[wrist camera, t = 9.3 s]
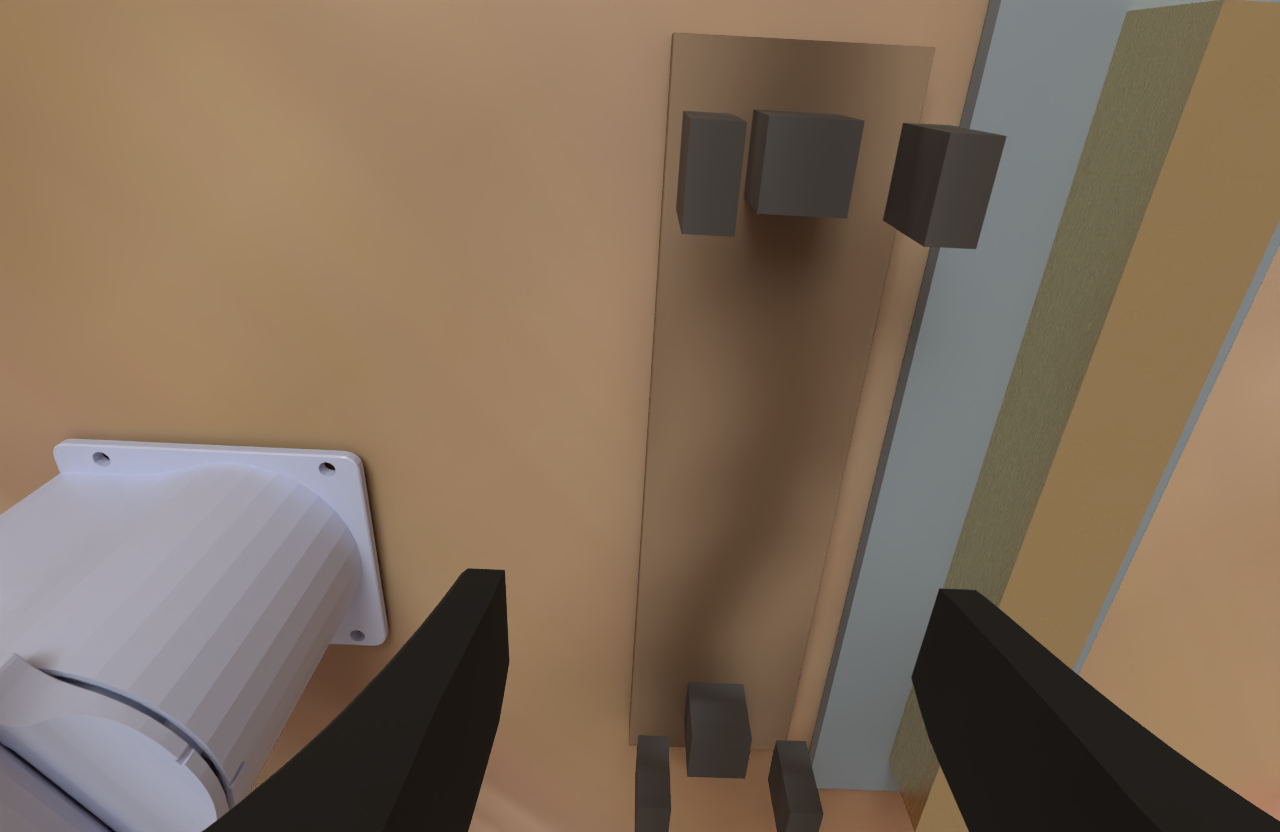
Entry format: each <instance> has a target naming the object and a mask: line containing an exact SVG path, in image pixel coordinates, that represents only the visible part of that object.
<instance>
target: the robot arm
mask: <svg viewBox="0 0 1280 832" xmlns="http://www.w3.org/2000/svg"><path fill="white" fill-rule="evenodd" d="M102 453H104V454H105V455H107V456H108V457H109V459H110V460H109V459H107V458H106V457H104V456H103V454H102ZM53 454H54V458H55V461H56V463H57V466H58V468H59V471H60V474H59V475H57V476H56V477H54V478H53V479H51V480H50V481H48V482H47V483H46V484H44V485H43V486H41V487H40V488H38V489H37V490H36V491H34V492H33V493H31V494H30V495H28V496H27V497H26V498H24V499H23V500H21V501H20V502H18V503H17V504H15V505H14V506H13V507H11V508H10V509H8V510H7V511H5V512H4V513H3V514H1V515H0V832H468V830H469V826H470V823H471V819H472V816H473V812H474V809H475V805H476V802H477V798H478V795H479V791H480V788H481V784H482V781H483V777H484V774H485V770H486V767H487V763H488V760H489V756H490V753H491V749H492V745H493V742H494V738H495V735H496V731H497V727H498V724H499V719H500V714H501V708H502V702H503V697H504V691H505V685H506V678H507V672H508V666H509V646H508V626H507V605H506V585H505V570H490V569H467V570H465V571H464V572H463V573H462V574H461V575H460V576H459V578H458V579H457V580H456V582H455V583H454V584H453V586H452V587H451V588H450V590H449V591H448V592H447V594H446V595H445V596H444V597H443V599H442V600H441V601H440V603H439V604H438V605H437V606H436V608H435V609H434V610H433V611H432V613H431V614H430V615H429V616H428V618H427V619H426V620H425V621H424V622H423V624H422V625H421V626H420V627H419V629H418V630H417V631H416V632H415V633H414V634H413V636H412V637H411V638H410V639H409V640H408V641H407V642H406V644H405V645H404V646H403V647H402V648H401V649H400V651H399V652H398V653H397V654H396V655H395V656H394V657H393V659H392V660H391V661H390V662H389V663H388V664H387V665H386V666H385V668H384V669H383V670H382V671H381V672H380V673H379V674H378V675H377V676H376V677H375V678H374V679H373V680H372V681H371V682H370V683H369V684H368V685H367V687H366V688H365V689H364V690H363V691H362V692H361V693H360V694H359V695H358V696H357V697H356V698H355V699H354V700H353V701H352V702H351V703H350V704H349V705H348V706H347V707H346V708H345V709H344V710H343V711H342V712H341V713H340V714H339V715H338V716H337V717H336V718H335V719H334V720H333V721H332V722H331V723H330V724H329V725H328V726H327V727H326V728H325V729H324V730H323V731H322V732H321V733H319V734H318V735H317V736H316V737H315V738H314V739H313V740H312V741H311V742H310V743H309V744H307V745H306V746H305V747H304V748H303V749H302V750H301V751H300V752H299V753H297V754H296V755H295V756H294V757H293V758H292V759H291V760H290V761H289V762H287V763H286V764H285V765H284V766H283V767H282V768H280V769H279V770H278V771H277V772H276V773H274V774H273V775H272V776H271V777H270V778H268V779H267V780H266V781H265V782H264V783H262V784H261V785H260V786H259V787H258V788H256V789H255V790H254V791H253V792H251V793H250V794H249V795H248V793H249V791H250V789H251V788H252V786H253V784H254V782H255V780H256V778H257V776H258V775H259V773H260V771H261V769H262V767H263V765H264V764H265V762H266V760H267V758H268V756H269V754H270V753H271V751H272V749H273V747H274V745H275V743H276V742H277V740H278V738H279V736H280V734H281V732H282V731H283V729H284V727H285V725H286V723H287V721H288V720H289V718H290V716H291V714H292V712H293V710H294V708H295V707H296V705H297V703H298V701H299V699H300V697H301V696H302V694H303V692H304V690H305V688H306V686H307V685H308V683H309V681H310V679H311V677H312V675H313V674H314V672H315V670H316V668H317V666H318V664H319V663H320V661H321V659H322V657H323V655H324V653H325V651H326V650H327V648H328V646H329V644H344V645H369V646H375V645H380V644H382V643H383V642H384V641H385V639H386V637H387V635H388V624H387V617H386V611H385V604H384V598H383V591H382V585H381V578H380V572H379V565H378V559H377V552H376V546H375V539H374V532H373V526H372V519H371V513H370V506H369V500H368V493H367V487H366V480H365V474H364V467H363V463H362V461H361V459H360V458H359V457H358V456H357V455H355V454H354V453H352V452H348V451H335V450H313V449H291V448H269V447H247V446H225V445H203V444H180V443H158V442H136V441H114V440H92V439H66V440H65V441H63V442H61V443H60V444H58V445H57V446H55V448H54V450H53ZM324 462H327V463H331V464H332V465H333V466H334V467H335V469H336V470H331V469H328V468H327V467H326V466H325V464H324ZM356 630H358V631H361V632H362V633H359V632H357V631H356ZM911 679H912V683H913V686H914V690H915V693H916V697H917V701H918V704H919V708H920V712H921V715H922V718H923V721H924V724H925V728H926V731H927V734H928V737H929V740H930V742H931V745H932V747H933V750H934V752H935V755H936V757H937V759H938V762H939V764H940V766H941V769H942V771H943V773H944V776H945V778H946V780H947V783H948V785H949V787H950V790H951V792H952V794H953V796H954V799H955V801H956V803H957V806H958V808H959V810H960V812H961V815H962V817H963V819H964V822H965V824H966V826H967V828H968V831H969V832H1280V821H1278V820H1277V819H1275V818H1274V817H1272V816H1270V815H1269V814H1267V813H1266V812H1264V811H1263V810H1261V809H1260V808H1258V807H1256V806H1255V805H1253V804H1252V803H1250V802H1249V801H1247V800H1246V799H1244V798H1243V797H1242V796H1240V795H1239V794H1237V793H1236V792H1234V791H1233V790H1231V789H1230V788H1228V787H1227V786H1225V785H1224V784H1222V783H1221V782H1219V781H1218V780H1216V779H1215V778H1214V777H1212V776H1211V775H1209V774H1208V773H1206V772H1205V771H1203V770H1202V769H1200V768H1199V767H1197V766H1196V765H1195V764H1193V763H1192V762H1190V761H1189V760H1188V759H1186V758H1185V757H1183V756H1182V755H1181V754H1179V753H1178V752H1176V751H1175V750H1174V749H1172V748H1171V747H1170V746H1168V745H1167V744H1166V743H1164V742H1163V741H1162V740H1160V739H1159V738H1158V737H1156V736H1155V735H1154V734H1152V733H1151V732H1150V731H1148V730H1147V729H1146V728H1144V727H1143V726H1142V725H1141V724H1139V723H1138V722H1137V721H1135V720H1134V719H1133V718H1131V717H1130V716H1129V715H1127V714H1126V713H1125V712H1124V711H1122V710H1121V709H1120V708H1118V707H1117V706H1116V705H1115V704H1113V703H1112V702H1111V701H1110V700H1108V699H1107V698H1106V697H1105V696H1103V695H1102V694H1101V693H1100V692H1098V691H1097V690H1096V689H1095V688H1093V687H1092V686H1091V685H1090V684H1089V683H1087V682H1086V681H1085V680H1084V679H1082V678H1081V677H1080V676H1079V675H1078V674H1076V673H1075V672H1074V671H1073V670H1072V669H1070V668H1069V667H1068V666H1067V665H1066V664H1064V663H1063V662H1062V661H1061V660H1060V659H1058V658H1057V657H1056V656H1055V655H1054V654H1052V653H1051V652H1050V651H1049V650H1048V649H1047V648H1045V647H1044V646H1043V645H1042V644H1041V643H1039V642H1038V641H1037V640H1036V639H1035V638H1034V637H1032V636H1031V635H1030V634H1029V633H1028V632H1026V631H1025V630H1024V629H1023V628H1022V627H1021V626H1019V625H1018V624H1017V623H1016V622H1015V621H1014V620H1012V619H1011V618H1010V617H1009V616H1008V615H1006V614H1005V613H1004V612H1003V611H1002V610H1000V609H999V608H998V607H997V606H996V605H994V604H993V603H992V602H991V601H989V600H988V599H987V598H986V597H984V596H983V595H982V594H980V593H979V592H978V591H977V590H965V589H942V588H939V591H938V594H937V597H936V601H935V604H934V607H933V610H932V613H931V616H930V620H929V623H928V626H927V629H926V632H925V635H924V638H923V642H922V645H921V648H920V651H919V654H918V657H917V661H916V664H915V667H914V670H913V673H912V676H911ZM247 795H248V796H247Z"/></svg>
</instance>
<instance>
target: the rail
mask: <svg viewBox="0 0 1280 832" xmlns="http://www.w3.org/2000/svg"><path fill="white" fill-rule="evenodd" d="M1279 221H1280V3H1278V2H1261V1H1244V0H1216V1H1207V2H1198V3H1190V4H1181V5H1173V6H1164V7H1156V8H1147V9H1139V10H1130V11H1127V13H1126V16H1125V19H1124V22H1123V25H1122V28H1121V32H1120V35H1119V38H1118V41H1117V44H1116V47H1115V50H1114V54H1113V57H1112V60H1111V63H1110V66H1109V69H1108V72H1107V76H1106V79H1105V82H1104V85H1103V88H1102V91H1101V94H1100V97H1099V101H1098V104H1097V107H1096V110H1095V113H1094V116H1093V119H1092V123H1091V126H1090V129H1089V132H1088V135H1087V138H1086V141H1085V145H1084V148H1083V151H1082V154H1081V157H1080V160H1079V163H1078V166H1077V170H1076V173H1075V176H1074V179H1073V182H1072V185H1071V188H1070V192H1069V195H1068V198H1067V201H1066V204H1065V207H1064V210H1063V214H1062V217H1061V220H1060V223H1059V226H1058V229H1057V232H1056V236H1055V239H1054V242H1053V245H1052V248H1051V251H1050V254H1049V257H1048V261H1047V264H1046V267H1045V270H1044V273H1043V276H1042V279H1041V283H1040V286H1039V289H1038V292H1037V295H1036V298H1035V301H1034V305H1033V308H1032V311H1031V314H1030V317H1029V320H1028V323H1027V326H1026V330H1025V333H1024V336H1023V339H1022V342H1021V345H1020V348H1019V352H1018V355H1017V358H1016V361H1015V364H1014V367H1013V370H1012V374H1011V377H1010V380H1009V383H1008V386H1007V389H1006V392H1005V396H1004V399H1003V402H1002V405H1001V408H1000V411H999V414H998V417H997V421H996V424H995V427H994V430H993V433H992V436H991V439H990V443H989V446H988V449H987V452H986V455H985V458H984V461H983V465H982V468H981V471H980V474H979V477H978V480H977V483H976V486H975V490H974V493H973V496H972V499H971V502H970V505H969V508H968V512H967V515H966V518H965V521H964V524H963V527H962V530H961V534H960V537H959V540H958V543H957V546H956V549H955V552H954V555H953V559H952V562H951V565H950V568H949V571H948V574H947V577H946V581H945V584H944V587H943V589H965V590H977V591H978V592H979V593H980V594H982V595H983V596H984V597H986V598H987V599H988V600H989V601H991V602H992V603H993V604H994V605H996V606H997V607H998V608H999V609H1000V610H1002V611H1003V612H1004V613H1005V614H1006V615H1008V616H1009V617H1010V618H1011V619H1012V620H1014V621H1015V622H1016V623H1017V624H1018V625H1019V626H1021V627H1022V628H1023V629H1024V630H1025V631H1026V632H1028V633H1029V634H1030V635H1031V636H1032V637H1034V638H1035V639H1036V640H1037V641H1038V642H1039V643H1041V644H1042V645H1043V646H1044V647H1045V648H1047V649H1048V650H1049V651H1050V652H1051V653H1052V654H1054V655H1055V656H1056V657H1057V658H1058V659H1060V660H1061V661H1062V662H1063V663H1064V664H1066V665H1067V666H1068V667H1069V668H1070V669H1072V670H1073V669H1074V666H1075V664H1076V662H1077V660H1078V658H1079V656H1080V653H1081V651H1082V649H1083V647H1084V645H1085V643H1086V640H1087V638H1088V636H1089V634H1090V632H1091V630H1092V627H1093V625H1094V623H1095V621H1096V619H1097V616H1098V614H1099V612H1100V610H1101V608H1102V606H1103V603H1104V601H1105V599H1106V597H1107V595H1108V593H1109V590H1110V588H1111V586H1112V584H1113V582H1114V580H1115V577H1116V575H1117V573H1118V571H1119V569H1120V566H1121V564H1122V562H1123V560H1124V558H1125V556H1126V553H1127V551H1128V549H1129V547H1130V545H1131V543H1132V540H1133V538H1134V536H1135V534H1136V532H1137V530H1138V527H1139V525H1140V523H1141V521H1142V519H1143V516H1144V514H1145V512H1146V510H1147V508H1148V506H1149V503H1150V501H1151V499H1152V497H1153V495H1154V493H1155V490H1156V488H1157V486H1158V484H1159V482H1160V480H1161V477H1162V475H1163V473H1164V471H1165V469H1166V466H1167V464H1168V462H1169V460H1170V458H1171V456H1172V453H1173V451H1174V449H1175V447H1176V445H1177V443H1178V440H1179V438H1180V436H1181V434H1182V432H1183V430H1184V427H1185V425H1186V423H1187V421H1188V419H1189V416H1190V414H1191V412H1192V410H1193V408H1194V406H1195V403H1196V401H1197V399H1198V397H1199V395H1200V393H1201V390H1202V388H1203V386H1204V384H1205V382H1206V380H1207V377H1208V375H1209V373H1210V371H1211V369H1212V366H1213V364H1214V362H1215V360H1216V358H1217V356H1218V353H1219V351H1220V349H1221V347H1222V345H1223V343H1224V340H1225V338H1226V336H1227V334H1228V332H1229V330H1230V327H1231V325H1232V323H1233V321H1234V319H1235V316H1236V314H1237V312H1238V310H1239V308H1240V306H1241V303H1242V301H1243V299H1244V297H1245V295H1246V293H1247V290H1248V288H1249V286H1250V284H1251V282H1252V280H1253V277H1254V275H1255V273H1256V271H1257V269H1258V266H1259V264H1260V262H1261V260H1262V258H1263V256H1264V253H1265V251H1266V249H1267V247H1268V245H1269V243H1270V240H1271V238H1272V236H1273V234H1274V232H1275V230H1276V227H1277V225H1278V223H1279ZM889 761H890V764H891V767H892V769H893V772H894V775H895V778H896V781H897V784H898V786H899V789H900V792H901V795H902V798H903V800H904V803H905V806H906V809H907V812H908V814H909V817H910V820H911V823H912V826H913V829H914V831H915V832H969V831H968V828H967V826H966V824H965V822H964V819H963V817H962V815H961V812H960V810H959V808H958V806H957V803H956V801H955V799H954V796H953V794H952V792H951V790H950V787H949V785H948V783H947V780H946V778H945V776H944V773H943V771H942V769H941V766H940V764H939V762H938V759H937V757H936V755H935V752H934V750H933V747H932V745H931V742H930V740H929V737H928V734H927V731H926V728H925V724H924V721H923V718H922V715H921V712H920V708H919V704H918V701H917V697H916V693H915V690H914V686H913V684H912V687H911V690H910V694H909V697H908V700H907V703H906V706H905V709H904V712H903V715H902V719H901V722H900V725H899V728H898V731H897V734H896V737H895V741H894V744H893V747H892V750H891V753H890V756H889Z"/></svg>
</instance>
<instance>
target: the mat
mask: <svg viewBox="0 0 1280 832" xmlns="http://www.w3.org/2000/svg"><path fill="white" fill-rule="evenodd" d="M1207 1H1216V0H990V3H989V7H988V11H987V15H986V20H985V24H984V28H983V32H982V36H981V40H980V45H979V49H978V53H977V57H976V61H975V65H974V70H973V74H972V78H971V82H970V86H969V90H968V94H967V99H966V103H965V107H964V111H963V115H962V119H961V124H960V127H962V128H967V129H972V130H978V131H983V132H988V133H994V134H999V135H1004V136H1007V137H1006V141H1005V145H1004V148H1003V152H1002V156H1001V159H1000V163H999V167H998V170H997V174H996V178H995V182H994V185H993V189H992V193H991V196H990V200H989V204H988V207H987V211H986V215H985V218H984V222H983V226H982V230H981V233H980V237H979V241H978V244H977V248H976V249H961V248H941V247H931V248H930V252H929V257H928V261H927V265H926V269H925V273H924V277H923V282H922V286H921V290H920V294H919V298H918V302H917V307H916V311H915V315H914V319H913V323H912V327H911V331H910V336H909V340H908V344H907V348H906V352H905V356H904V361H903V365H902V369H901V373H900V377H899V381H898V386H897V390H896V394H895V398H894V402H893V406H892V410H891V415H890V419H889V423H888V427H887V431H886V435H885V440H884V444H883V448H882V452H881V456H880V460H879V465H878V469H877V473H876V477H875V481H874V485H873V489H872V494H871V498H870V502H869V506H868V510H867V514H866V519H865V523H864V527H863V531H862V535H861V539H860V544H859V548H858V552H857V556H856V560H855V564H854V568H853V573H852V577H851V581H850V585H849V589H848V593H847V598H846V602H845V606H844V610H843V614H842V618H841V623H840V627H839V631H838V635H837V639H836V643H835V647H834V652H833V656H832V660H831V664H830V668H829V672H828V677H827V681H826V685H825V689H824V693H823V697H822V702H821V706H820V710H819V714H818V718H817V722H816V726H815V731H814V735H813V739H812V743H811V747H810V751H809V757H810V761H811V765H812V769H813V773H814V777H815V781H816V785H817V788H820V789H847V790H875V791H900V789H899V786H898V784H897V781H896V778H895V775H894V772H893V769H892V767H891V764H890V761H889V756H890V753H891V750H892V747H893V744H894V741H895V737H896V734H897V731H898V728H899V725H900V722H901V719H902V715H903V712H904V709H905V706H906V703H907V700H908V697H909V694H910V690H911V687H912V684H913V683H912V679H911V676H912V673H913V670H914V667H915V664H916V661H917V657H918V654H919V651H920V648H921V645H922V642H923V638H924V635H925V632H926V629H927V626H928V623H929V620H930V616H931V613H932V610H933V607H934V604H935V601H936V597H937V594H938V591H939V588H942V589H943V587H944V584H945V581H946V577H947V574H948V571H949V568H950V565H951V562H952V559H953V555H954V552H955V549H956V546H957V543H958V540H959V537H960V534H961V530H962V527H963V524H964V521H965V518H966V515H967V512H968V508H969V505H970V502H971V499H972V496H973V493H974V490H975V486H976V483H977V480H978V477H979V474H980V471H981V468H982V465H983V461H984V458H985V455H986V452H987V449H988V446H989V443H990V439H991V436H992V433H993V430H994V427H995V424H996V421H997V417H998V414H999V411H1000V408H1001V405H1002V402H1003V399H1004V396H1005V392H1006V389H1007V386H1008V383H1009V380H1010V377H1011V374H1012V370H1013V367H1014V364H1015V361H1016V358H1017V355H1018V352H1019V348H1020V345H1021V342H1022V339H1023V336H1024V333H1025V330H1026V326H1027V323H1028V320H1029V317H1030V314H1031V311H1032V308H1033V305H1034V301H1035V298H1036V295H1037V292H1038V289H1039V286H1040V283H1041V279H1042V276H1043V273H1044V270H1045V267H1046V264H1047V261H1048V257H1049V254H1050V251H1051V248H1052V245H1053V242H1054V239H1055V236H1056V232H1057V229H1058V226H1059V223H1060V220H1061V217H1062V214H1063V210H1064V207H1065V204H1066V201H1067V198H1068V195H1069V192H1070V188H1071V185H1072V182H1073V179H1074V176H1075V173H1076V170H1077V166H1078V163H1079V160H1080V157H1081V154H1082V151H1083V148H1084V145H1085V141H1086V138H1087V135H1088V132H1089V129H1090V126H1091V123H1092V119H1093V116H1094V113H1095V110H1096V107H1097V104H1098V101H1099V97H1100V94H1101V91H1102V88H1103V85H1104V82H1105V79H1106V76H1107V72H1108V69H1109V66H1110V63H1111V60H1112V57H1113V54H1114V50H1115V47H1116V44H1117V41H1118V38H1119V35H1120V32H1121V28H1122V25H1123V22H1124V19H1125V16H1126V13H1127V11H1130V10H1139V9H1147V8H1156V7H1164V6H1173V5H1181V4H1190V3H1198V2H1207ZM1244 1H1261V2H1278V3H1280V0H1244ZM1279 245H1280V221H1279V223H1278V225H1277V227H1276V230H1275V232H1274V234H1273V236H1272V238H1271V240H1270V243H1269V245H1268V247H1267V249H1266V251H1265V253H1264V256H1263V258H1262V260H1261V262H1260V264H1259V266H1258V269H1257V271H1256V273H1255V275H1254V277H1253V280H1252V282H1251V284H1250V286H1249V288H1248V290H1247V293H1246V295H1245V297H1244V299H1243V301H1242V303H1241V306H1240V308H1239V310H1238V312H1237V314H1236V316H1235V319H1234V321H1233V323H1232V325H1231V327H1230V330H1229V332H1228V334H1227V336H1226V338H1225V340H1224V343H1223V345H1222V347H1221V349H1220V351H1219V353H1218V356H1217V358H1216V360H1215V362H1214V364H1213V366H1212V369H1211V371H1210V373H1209V375H1208V377H1207V380H1206V382H1205V384H1204V386H1203V388H1202V390H1201V393H1200V395H1199V397H1198V399H1197V401H1196V403H1195V406H1194V408H1193V410H1192V412H1191V414H1190V416H1189V419H1188V421H1187V423H1186V425H1185V427H1184V430H1183V432H1182V434H1181V436H1180V438H1179V440H1178V443H1177V445H1176V447H1175V449H1174V451H1173V453H1172V456H1171V458H1170V460H1169V462H1168V464H1167V466H1166V469H1165V471H1164V473H1163V475H1162V477H1161V480H1160V482H1159V484H1158V486H1157V488H1156V490H1155V493H1154V495H1153V497H1152V499H1151V501H1150V503H1149V506H1148V508H1147V510H1146V512H1145V514H1144V516H1143V519H1142V521H1141V523H1140V525H1139V527H1138V530H1137V532H1136V534H1135V536H1134V538H1133V540H1132V543H1131V545H1130V547H1129V549H1128V551H1127V553H1126V556H1125V558H1124V560H1123V562H1122V564H1121V566H1120V569H1119V571H1118V573H1117V575H1116V577H1115V580H1114V582H1113V584H1112V586H1111V588H1110V590H1109V593H1108V595H1107V597H1106V599H1105V601H1104V603H1103V606H1102V608H1101V610H1100V612H1099V614H1098V616H1097V619H1096V621H1095V623H1094V625H1093V627H1092V630H1091V632H1090V634H1089V636H1088V638H1087V640H1086V643H1085V645H1084V647H1083V649H1082V651H1081V653H1080V656H1079V658H1078V660H1077V662H1076V664H1075V666H1074V669H1073V671H1074V672H1075V673H1076V674H1079V672H1080V670H1081V668H1082V666H1083V663H1084V661H1085V659H1086V657H1087V655H1088V653H1089V651H1090V649H1091V646H1092V644H1093V642H1094V640H1095V638H1096V636H1097V634H1098V631H1099V629H1100V627H1101V625H1102V623H1103V621H1104V619H1105V616H1106V614H1107V612H1108V610H1109V608H1110V606H1111V604H1112V602H1113V599H1114V597H1115V595H1116V593H1117V591H1118V589H1119V587H1120V584H1121V582H1122V580H1123V578H1124V576H1125V574H1126V572H1127V570H1128V567H1129V565H1130V563H1131V561H1132V559H1133V557H1134V555H1135V552H1136V550H1137V548H1138V546H1139V544H1140V542H1141V540H1142V537H1143V535H1144V533H1145V531H1146V529H1147V527H1148V525H1149V523H1150V520H1151V518H1152V516H1153V514H1154V512H1155V510H1156V508H1157V505H1158V503H1159V501H1160V499H1161V497H1162V495H1163V493H1164V490H1165V488H1166V486H1167V484H1168V482H1169V480H1170V478H1171V476H1172V473H1173V471H1174V469H1175V467H1176V465H1177V463H1178V461H1179V458H1180V456H1181V454H1182V452H1183V450H1184V448H1185V446H1186V443H1187V441H1188V439H1189V437H1190V435H1191V433H1192V431H1193V429H1194V426H1195V424H1196V422H1197V420H1198V418H1199V416H1200V414H1201V411H1202V409H1203V407H1204V405H1205V403H1206V401H1207V399H1208V397H1209V394H1210V392H1211V390H1212V388H1213V386H1214V384H1215V382H1216V379H1217V377H1218V375H1219V373H1220V371H1221V369H1222V367H1223V364H1224V362H1225V360H1226V358H1227V356H1228V354H1229V352H1230V350H1231V347H1232V345H1233V343H1234V341H1235V339H1236V337H1237V335H1238V332H1239V330H1240V328H1241V326H1242V324H1243V322H1244V320H1245V317H1246V315H1247V313H1248V311H1249V309H1250V307H1251V305H1252V303H1253V300H1254V298H1255V296H1256V294H1257V292H1258V290H1259V288H1260V285H1261V283H1262V281H1263V279H1264V277H1265V275H1266V273H1267V270H1268V268H1269V266H1270V264H1271V262H1272V260H1273V258H1274V256H1275V253H1276V251H1277V249H1278V247H1279Z"/></svg>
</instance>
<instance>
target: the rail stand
mask: <svg viewBox="0 0 1280 832" xmlns="http://www.w3.org/2000/svg"><path fill="white" fill-rule="evenodd" d="M934 53H935V47H918V46H900V45H883V44H865V43H848V42H831V41H813V40H796V39H778V38H761V37H743V36H726V35H708V34H691V33H673V34H672V46H671V62H670V78H669V94H668V110H667V126H666V142H665V158H664V174H663V190H662V206H661V222H660V238H659V254H658V270H657V286H656V302H655V318H654V334H653V350H652V366H651V382H650V398H649V414H648V430H647V446H646V462H645V478H644V494H643V510H642V526H641V542H640V558H639V574H638V590H637V606H636V622H635V638H634V654H633V670H632V686H631V702H630V718H629V745H637V759H636V773H635V832H668V831H669V822H670V813H671V796H670V769H669V747H686V763H687V776H688V777H716V778H743V779H745V776H746V770H747V765H748V759H749V754H750V750H772V751H774V753H773V757H772V762H771V767H770V772H769V777H768V782H769V788H770V794H771V799H772V805H773V811H774V817H775V822H776V828H777V832H819V828H820V825H821V821H822V817H823V810H822V806H821V802H820V798H819V794H818V790H817V785H816V781H815V777H814V773H813V769H812V765H811V761H810V757H809V752H808V748H807V744H806V741H786V739H787V735H788V730H789V726H790V721H791V716H792V712H793V707H794V702H795V698H796V693H797V688H798V684H799V679H800V674H801V670H802V665H803V661H804V656H805V651H806V647H807V642H808V637H809V633H810V628H811V623H812V619H813V614H814V609H815V605H816V600H817V596H818V591H819V586H820V582H821V577H822V572H823V568H824V563H825V558H826V554H827V549H828V545H829V540H830V535H831V531H832V526H833V521H834V517H835V512H836V507H837V503H838V498H839V493H840V489H841V484H842V480H843V475H844V470H845V466H846V461H847V456H848V452H849V447H850V442H851V438H852V433H853V428H854V424H855V419H856V415H857V410H858V405H859V401H860V396H861V391H862V387H863V382H864V377H865V373H866V368H867V364H868V359H869V354H870V350H871V345H872V340H873V336H874V331H875V326H876V322H877V317H878V312H879V308H880V303H881V299H882V294H883V289H884V285H885V280H886V275H887V271H888V266H889V261H890V257H891V252H892V248H893V243H894V238H895V234H896V229H897V230H899V231H900V232H902V233H903V234H905V235H906V236H908V237H910V238H911V239H913V240H914V241H916V242H917V243H919V244H921V245H922V246H924V247H941V248H961V249H976V248H977V244H978V241H979V237H980V233H981V230H982V226H983V222H984V218H985V215H986V211H987V207H988V204H989V200H990V196H991V193H992V189H993V185H994V182H995V178H996V174H997V170H998V167H999V163H1000V159H1001V156H1002V152H1003V148H1004V145H1005V141H1006V137H1007V136H1004V135H999V134H994V133H988V132H983V131H978V130H972V129H967V128H962V127H956V126H951V125H934V124H919V122H920V118H921V113H922V108H923V104H924V99H925V94H926V90H927V85H928V80H929V76H930V71H931V67H932V62H933V57H934Z"/></svg>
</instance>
